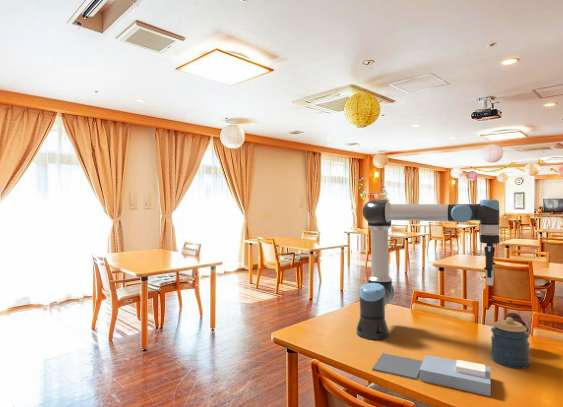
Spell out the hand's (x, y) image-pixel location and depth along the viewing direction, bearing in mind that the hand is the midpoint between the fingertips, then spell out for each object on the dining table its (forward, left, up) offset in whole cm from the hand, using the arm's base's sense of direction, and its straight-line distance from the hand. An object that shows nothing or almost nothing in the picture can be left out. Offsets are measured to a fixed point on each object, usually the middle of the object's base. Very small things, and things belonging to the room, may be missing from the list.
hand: (489, 282), depth 161 cm
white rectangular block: (-6, -42, -24) cm, 49 cm away
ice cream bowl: (+9, 0, -28) cm, 29 cm away
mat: (-31, -41, -28) cm, 59 cm away
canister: (+7, -16, -28) cm, 33 cm away
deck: (-11, -42, -28) cm, 52 cm away
